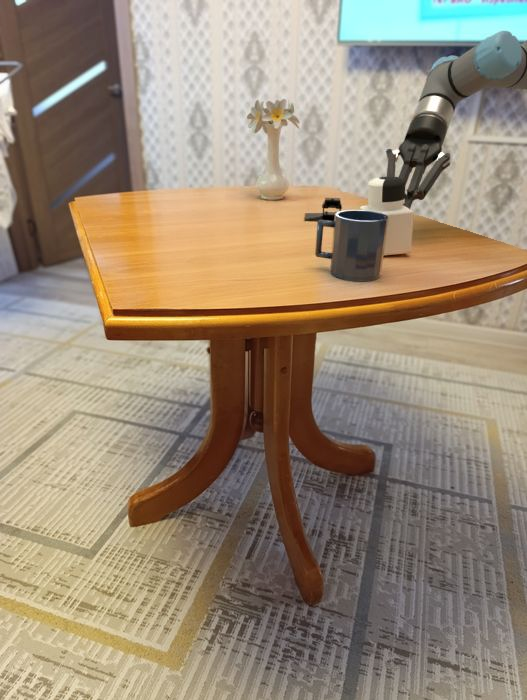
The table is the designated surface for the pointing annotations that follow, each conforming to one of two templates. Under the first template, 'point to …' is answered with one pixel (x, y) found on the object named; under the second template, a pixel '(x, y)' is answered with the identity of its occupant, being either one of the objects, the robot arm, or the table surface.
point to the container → (392, 212)
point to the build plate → (326, 215)
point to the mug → (355, 244)
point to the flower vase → (272, 145)
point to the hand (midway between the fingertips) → (392, 225)
